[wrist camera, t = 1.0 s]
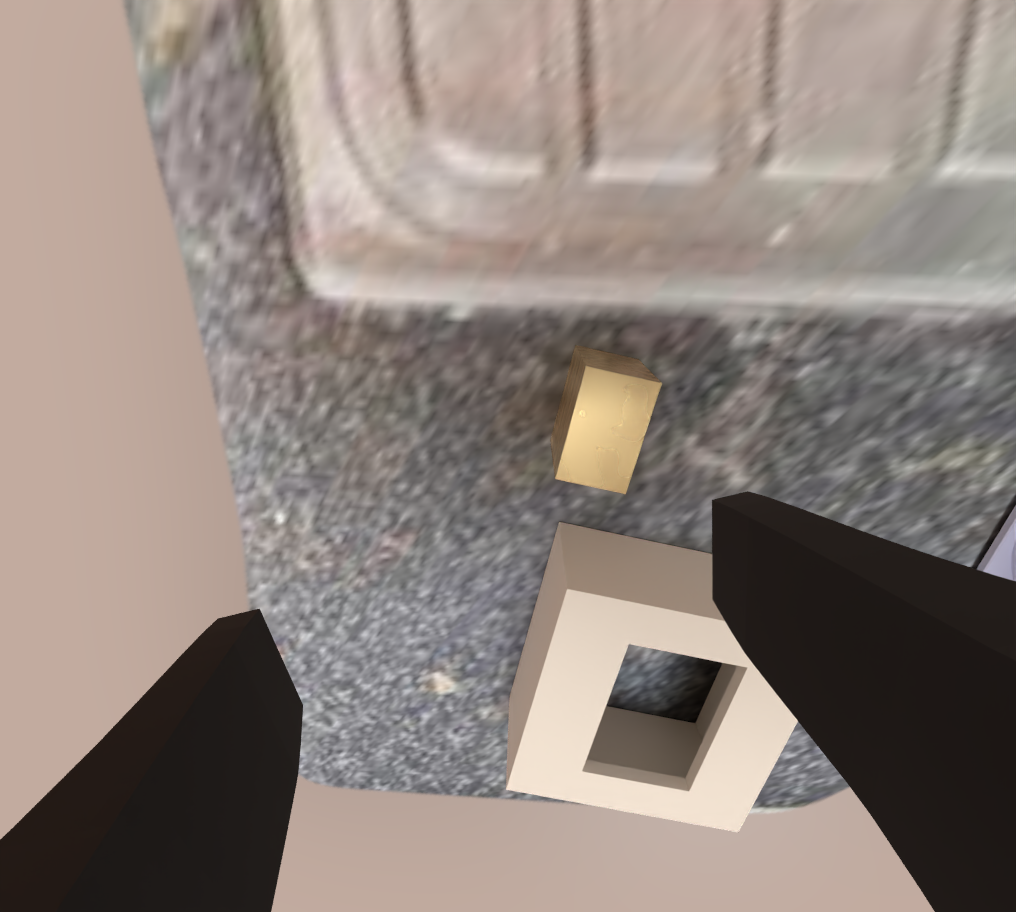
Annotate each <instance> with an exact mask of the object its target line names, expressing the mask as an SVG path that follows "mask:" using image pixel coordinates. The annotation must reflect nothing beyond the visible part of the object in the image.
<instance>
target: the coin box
mask: <svg viewBox="0 0 1016 912" xmlns="http://www.w3.org/2000/svg"><path fill="white" fill-rule="evenodd" d="M629 644H632V645H637V646H642V647H647V648H652V649H657V650H662V651H667V652H672V653H677V654H682V655H687V656H692V657H697V658H702V659H707V660H712V661H717V662H722V665H721V667H720V670H719V672H718V674H717V676H716V679H715V681H714V683H713V685H712V687H711V690H710V692H709V694H708V696H707V699H706V701H705V703H704V705H703V707H702V710H701V712H700V714H699V716H698V719H697V721H696V723H691V722H686V721H681V720H676V719H671V718H666V717H660V716H655V715H650V714H645V713H640V712H635V711H629V710H624V709H619V708H614V707H609V706H606V705H607V702H608V699H609V697H610V694H611V691H612V688H613V686H614V683H615V680H616V678H617V675H618V672H619V669H620V667H621V664H622V661H623V658H624V656H625V653H626V650H627V648H628V645H629ZM797 722H798V720H797V719H796V718H795V717H794V715H793V714H792V713H791V712H790V710H789V709H788V708H787V707H786V705H785V704H784V703H783V702H782V700H781V699H780V698H779V697H778V695H777V694H776V693H775V691H774V690H773V689H772V688H771V686H770V685H769V684H768V683H767V681H766V680H765V679H764V677H763V676H762V675H761V674H760V672H759V671H758V670H757V669H756V667H755V666H754V665H753V663H752V662H751V661H750V659H749V658H748V657H747V655H746V654H745V653H744V651H743V650H742V648H741V646H740V645H739V643H738V642H737V640H736V638H735V637H734V635H733V634H732V632H731V630H730V629H729V627H728V625H727V624H726V622H725V620H724V619H723V617H722V615H721V613H720V612H719V610H718V608H717V607H716V605H715V603H714V601H713V600H712V554H710V553H705V552H700V551H695V550H691V549H686V548H681V547H676V546H672V545H667V544H662V543H657V542H653V541H648V540H643V539H638V538H634V537H629V536H624V535H619V534H615V533H610V532H605V531H600V530H595V529H591V528H586V527H581V526H576V525H572V524H567V523H562V522H559V524H558V527H557V531H556V534H555V538H554V542H553V545H552V549H551V552H550V556H549V559H548V563H547V566H546V570H545V573H544V577H543V580H542V584H541V587H540V591H539V594H538V598H537V602H536V605H535V609H534V612H533V616H532V619H531V623H530V626H529V630H528V633H527V637H526V640H525V644H524V647H523V651H522V654H521V658H520V662H519V665H518V669H517V672H516V676H515V679H514V683H513V686H512V690H511V693H510V697H509V724H508V752H507V780H506V789H507V790H512V791H518V792H523V793H528V794H534V795H539V796H545V797H550V798H555V799H561V800H566V801H572V802H577V803H582V804H588V805H593V806H599V807H604V808H610V809H616V810H620V811H626V812H631V813H637V814H642V815H647V816H653V817H658V818H664V819H669V820H675V821H680V822H685V823H691V824H696V825H702V826H707V827H713V828H718V829H723V830H729V831H734V832H739V830H740V828H741V826H742V824H743V823H744V821H745V818H746V817H747V815H748V813H749V811H750V810H751V808H752V806H753V804H754V802H755V800H756V798H757V797H758V795H759V793H760V791H761V789H762V787H763V785H764V784H765V782H766V780H767V778H768V776H769V774H770V772H771V770H772V769H773V767H774V765H775V763H776V761H777V759H778V757H779V756H780V754H781V752H782V750H783V748H784V746H785V744H786V743H787V741H788V739H789V737H790V735H791V733H792V731H793V730H794V728H795V726H796V724H797Z"/></svg>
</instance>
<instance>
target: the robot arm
mask: <svg viewBox="0 0 1016 912" xmlns="http://www.w3.org/2000/svg"><path fill="white" fill-rule="evenodd" d="M712 600H713V601H714V603H715V605H716V607H717V608H718V610H719V612H720V613H721V615H722V617H723V619H724V620H725V622H726V624H727V625H728V627H729V629H730V630H731V632H732V634H733V635H734V637H735V638H736V640H737V642H738V643H739V645H740V646H741V648H742V650H743V651H744V653H745V654H746V655H747V657H748V658H749V659H750V661H751V662H752V663H753V665H754V666H755V667H756V669H757V670H758V671H759V672H760V674H761V675H762V676H763V677H764V679H765V680H766V681H767V683H768V684H769V685H770V686H771V688H772V689H773V690H774V691H775V693H776V694H777V695H778V697H779V698H780V699H781V700H782V702H783V703H784V704H785V705H786V707H787V708H788V709H789V710H790V712H791V713H792V714H793V715H794V717H795V718H796V719H797V720H798V722H799V723H800V724H801V725H802V727H803V728H804V729H805V730H806V732H807V733H808V734H809V735H810V737H811V738H812V739H813V740H814V742H815V743H816V744H817V746H818V747H819V748H820V749H821V751H822V752H823V753H824V754H825V756H826V757H827V758H828V759H829V761H830V762H831V763H832V764H833V766H834V767H835V768H836V769H837V771H838V772H839V773H840V774H841V776H842V777H843V778H844V779H845V781H846V782H847V783H848V785H849V786H850V787H851V789H852V790H853V791H854V793H855V794H856V795H857V797H858V798H859V799H860V801H861V802H862V804H863V805H864V806H865V808H866V809H867V810H868V812H869V813H870V814H871V816H872V817H873V819H874V820H875V822H876V823H877V825H878V826H879V828H880V829H881V831H882V832H883V834H884V835H885V837H886V838H887V840H888V841H889V843H890V844H891V845H892V847H893V849H894V850H895V852H896V853H897V855H898V856H899V858H900V859H901V860H902V862H903V864H904V865H905V867H906V868H907V870H908V871H909V873H910V874H911V876H912V877H913V879H914V880H915V882H916V883H917V885H918V886H919V888H920V889H921V891H922V892H923V894H924V895H925V897H926V899H927V900H928V902H929V903H930V905H931V906H932V908H933V910H934V911H935V912H1016V505H1015V507H1014V509H1013V510H1012V512H1011V514H1010V515H1009V517H1008V519H1007V520H1006V522H1005V523H1004V525H1003V527H1002V528H1001V530H1000V532H999V533H998V535H997V537H996V538H995V540H994V541H993V543H992V545H991V546H990V548H989V550H988V551H987V553H986V555H985V556H984V558H983V560H982V561H981V563H980V564H979V566H978V568H977V569H973V568H970V567H967V566H964V565H961V564H957V563H954V562H951V561H948V560H945V559H941V558H938V557H935V556H932V555H929V554H926V553H923V552H920V551H917V550H914V549H911V548H908V547H905V546H903V545H900V544H897V543H894V542H891V541H888V540H885V539H883V538H880V537H877V536H874V535H871V534H869V533H866V532H863V531H860V530H857V529H855V528H852V527H849V526H846V525H844V524H841V523H838V522H835V521H833V520H830V519H827V518H825V517H822V516H819V515H816V514H814V513H811V512H808V511H805V510H803V509H800V508H797V507H794V506H792V505H789V504H786V503H783V502H780V501H777V500H774V499H771V498H768V497H765V496H762V495H759V494H755V493H751V492H748V491H747V492H743V493H739V494H735V495H731V496H727V497H722V498H718V499H714V500H712ZM302 714H303V704H302V702H301V700H300V697H299V695H298V693H297V691H296V689H295V686H294V684H293V682H292V680H291V678H290V675H289V673H288V671H287V669H286V666H285V664H284V662H283V660H282V658H281V655H280V653H279V651H278V649H277V646H276V644H275V642H274V640H273V638H272V635H271V633H270V631H269V629H268V627H267V624H266V622H265V620H264V618H263V615H262V613H261V611H260V609H256V610H252V611H248V612H244V613H239V614H235V615H232V616H227V617H223V618H219V619H217V620H216V621H215V622H214V623H213V624H212V625H211V626H210V627H208V628H207V629H206V630H205V631H204V632H203V633H202V634H201V635H200V636H199V637H198V639H196V641H195V642H194V643H193V644H192V645H191V646H190V647H189V648H188V649H187V650H186V651H185V652H184V653H183V654H182V655H181V656H180V657H179V658H178V659H177V660H176V661H175V663H174V664H173V665H172V666H171V667H170V668H169V669H168V670H167V671H166V672H165V673H164V674H163V676H161V677H160V678H159V679H158V681H157V682H156V683H155V684H154V685H153V686H152V687H151V688H150V689H149V690H148V691H147V692H146V693H145V694H144V695H143V697H142V698H141V699H140V700H139V701H138V702H137V703H136V704H135V705H134V706H133V707H132V708H131V709H130V710H129V711H128V712H127V713H126V714H125V715H124V716H123V718H122V719H121V720H120V721H119V722H118V723H117V724H116V725H115V726H114V727H113V728H112V729H111V730H110V731H109V732H108V733H107V734H106V735H105V737H104V738H103V739H102V740H101V741H100V742H99V743H98V744H97V745H96V746H95V747H94V748H93V749H92V750H91V751H90V752H89V753H88V754H87V755H86V756H85V757H84V758H83V759H82V760H81V761H80V762H79V763H78V764H77V765H76V766H75V767H74V768H73V769H72V770H71V771H70V772H69V773H68V774H67V775H66V776H65V777H64V778H63V779H62V780H61V781H60V782H59V783H58V784H57V785H56V786H55V787H54V788H53V789H52V790H51V791H50V792H49V793H47V795H45V796H44V797H43V798H42V799H41V801H39V803H37V804H36V805H35V807H34V808H32V809H31V810H30V811H29V812H28V813H27V814H26V815H25V816H24V817H23V818H22V819H21V820H20V821H19V823H17V824H16V825H15V826H14V827H13V828H12V829H11V830H10V831H9V832H8V833H7V834H6V835H5V836H4V837H3V838H2V839H0V912H271V909H272V905H273V899H274V895H275V889H276V885H277V879H278V875H279V870H280V865H281V860H282V855H283V850H284V845H285V840H286V835H287V830H288V824H289V819H290V814H291V809H292V804H293V798H294V793H295V788H296V783H297V777H298V770H299V758H300V747H301V732H302Z"/></svg>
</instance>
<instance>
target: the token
mask: <svg viewBox="0 0 1016 912" xmlns="http://www.w3.org/2000/svg"><path fill="white" fill-rule="evenodd" d="M661 384H662V383H661V382H660V381H659V380H658V379H657V378H656V377H655V376H654V375H653V374H652V373H651V372H650V371H649V370H648V369H647V368H646V367H645V366H644V365H643V364H642V363H641V362H640V361H639V360H638V359H635V358H630V357H626V356H621V355H617V354H613V353H608V352H604V351H599V350H595V349H591V348H586V347H582V346H577V345H575V349H574V352H573V356H572V360H571V364H570V368H569V372H568V375H567V379H566V383H565V387H564V391H563V394H562V398H561V402H560V406H559V410H558V414H557V417H556V421H555V425H554V429H553V433H552V436H551V440H550V442H551V450H552V457H553V465H554V473H555V479H557V480H562V481H567V482H571V483H576V484H581V485H586V486H590V487H595V488H600V489H604V490H609V491H614V492H618V493H623V494H626V492H627V488H628V485H629V482H630V479H631V476H632V473H633V470H634V467H635V464H636V461H637V458H638V455H639V452H640V449H641V446H642V443H643V439H644V436H645V433H646V430H647V427H648V424H649V421H650V418H651V415H652V412H653V409H654V406H655V403H656V400H657V397H658V394H659V390H660V387H661Z"/></svg>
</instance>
